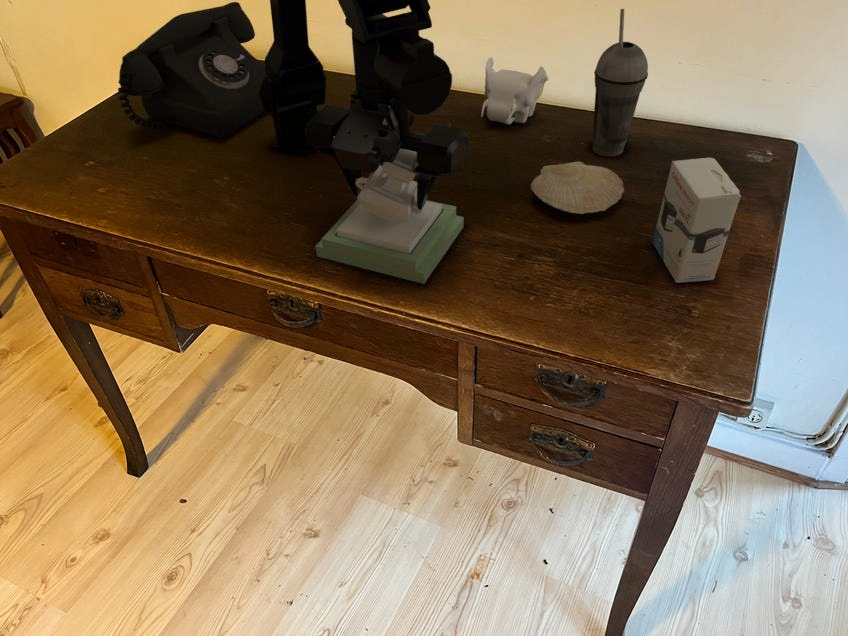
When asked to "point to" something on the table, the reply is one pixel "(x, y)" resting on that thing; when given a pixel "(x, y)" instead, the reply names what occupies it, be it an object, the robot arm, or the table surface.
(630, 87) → the beverage cup
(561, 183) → the seashell
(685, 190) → the ink box
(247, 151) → the table surface
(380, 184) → the grey blocky piece
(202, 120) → the rotary telephone
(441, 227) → the scale
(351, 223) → the square push button
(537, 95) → the elephant figurine
